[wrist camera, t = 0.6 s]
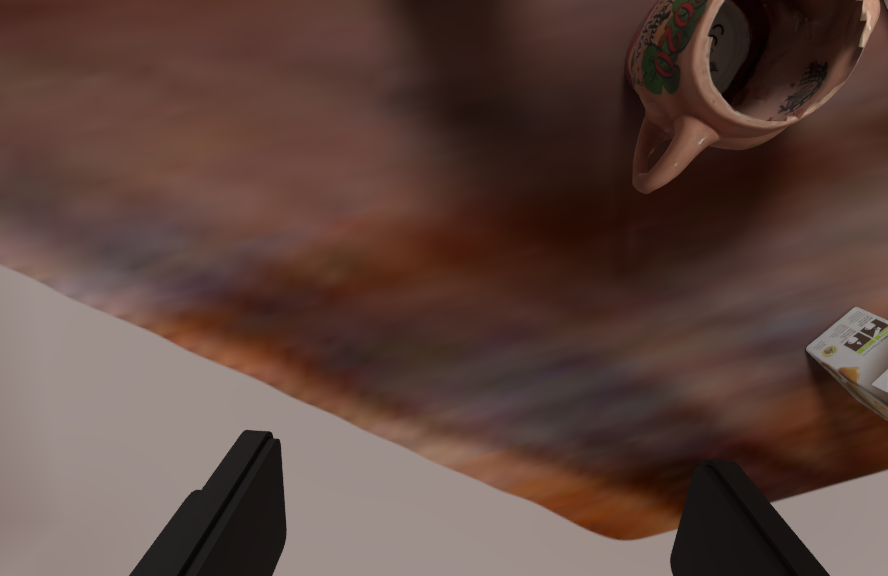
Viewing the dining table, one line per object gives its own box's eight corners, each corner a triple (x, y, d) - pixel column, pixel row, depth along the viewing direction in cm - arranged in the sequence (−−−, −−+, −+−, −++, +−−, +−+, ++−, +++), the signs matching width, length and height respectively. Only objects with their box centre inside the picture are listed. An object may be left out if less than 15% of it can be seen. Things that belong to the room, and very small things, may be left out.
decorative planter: (671, 211, 44) (762, 246, 31) (554, 156, 43) (596, 167, 29) (807, -16, 38) (993, -96, 25) (675, -88, 37) (796, -211, 24)
